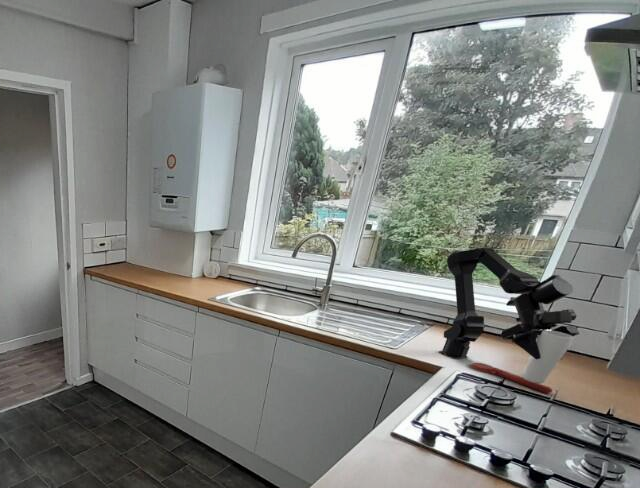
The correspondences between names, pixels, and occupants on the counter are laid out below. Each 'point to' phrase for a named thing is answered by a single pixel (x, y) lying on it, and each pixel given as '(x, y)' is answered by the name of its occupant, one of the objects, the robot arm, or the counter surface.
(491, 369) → the red long flat piece
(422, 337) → the counter surface
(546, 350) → the drinking glass
